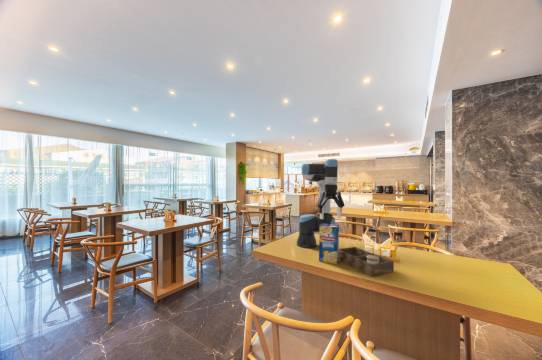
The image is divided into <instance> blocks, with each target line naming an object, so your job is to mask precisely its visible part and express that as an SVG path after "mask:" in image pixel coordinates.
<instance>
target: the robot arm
mask: <svg viewBox="0 0 542 360" xmlns="http://www.w3.org/2000/svg"><path fill="white" fill-rule="evenodd" d="M338 162H339V161H338V159H335V158H329V159H326V160H325V162H324V163H302V164H301V175H302V177H303V179H304V180H306V181H308V182H312V183H313V182H314V183H316V184H317V186H318V201H317V203H316V206H315V207H317V208H318V213H317V214H316V215H317V216H316V215H315V213H313V214H311V213H307V214H301V215H300V217H299V221H298V222H299V227H298V236H297V240H296V245H297V246H298V247H300V248H305V249H307V248H309V249H310V248H311V249H312V248H315V247H317V246H318V245H317V244H318V243H317V240H316V236H315V232H316V233H320V225H321V224H331V225H336V217H337V218H338V219H341V218H342V211H343V209H342V208H344V207H345V202H344V200H343V197H342V193H341V191H338V172H339V171H338V170H339V169H338V168H339V167H338V166H339V163H338ZM331 200H333V201H334V202H335V204H336V205H337V207H336V217H335V216H334V215H333V214H332V212H331Z"/></svg>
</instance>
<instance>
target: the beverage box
mask: <svg viewBox="0 0 542 360" xmlns="http://www.w3.org/2000/svg"><path fill="white" fill-rule="evenodd" d="M318 233H319V235H318V237H319V241H318V243H319V244H318V245H319V246H318V261H319V262H321V261H322V262H323V263H329V264H333V265H337V264H338V262H339V260H338V251H339V249H340V248H339V246H340V245H339V242H340V239H339V235H340V225H339V224H335V225H331V224H321V225H320V232H318Z"/></svg>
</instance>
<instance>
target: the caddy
mask: <svg viewBox="0 0 542 360" xmlns="http://www.w3.org/2000/svg"><path fill="white" fill-rule="evenodd" d="M367 255H374V256H377V257H379V263H377V264H371V263H368V262H367V258H366V256H367ZM339 261H340V262H341V263H344V264H346V265H347V266H350V267H352V268H354V269H356V270H358V271H360V272H361V273H364V274H366V275H368V276H370V277H372V278H373V277H378V276H383V275H386V274H392V273H394V267H395V265H394V263H395V261H394V260H392V259H388V258H387V257H383V256H381V255H378V254H376V253H373V252H370V251H367V250H366V249H365V250H364V249H361V248H359V247H357V246H350V247H344V248H339V251H338V262H339Z"/></svg>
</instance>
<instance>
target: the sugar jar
mask: <svg viewBox="0 0 542 360" xmlns="http://www.w3.org/2000/svg"><path fill="white" fill-rule="evenodd" d="M366 258H367V262H368V263H371V264H377V263H379V257H377V256H374V255H367V256H366Z"/></svg>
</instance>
